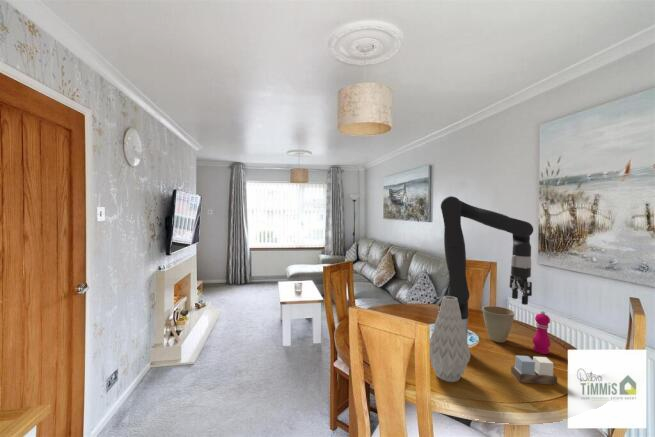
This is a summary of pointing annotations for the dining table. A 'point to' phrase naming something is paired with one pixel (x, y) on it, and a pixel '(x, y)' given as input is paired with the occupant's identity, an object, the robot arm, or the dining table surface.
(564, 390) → the dining table surface
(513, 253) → the robot arm
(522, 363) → the cube blue
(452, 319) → the vase
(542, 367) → the cube cream
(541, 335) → the pepper mill
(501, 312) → the plant pot
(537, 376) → the plank
